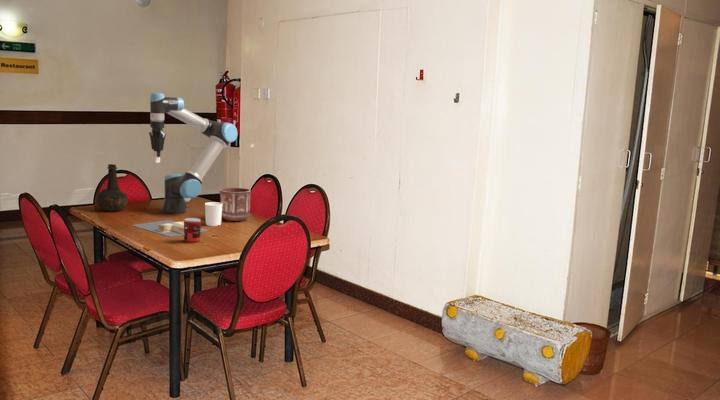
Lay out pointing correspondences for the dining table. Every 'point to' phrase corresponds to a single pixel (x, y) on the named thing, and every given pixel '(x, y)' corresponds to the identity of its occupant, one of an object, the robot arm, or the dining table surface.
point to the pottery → (235, 203)
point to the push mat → (154, 228)
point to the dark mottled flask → (112, 193)
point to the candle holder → (213, 213)
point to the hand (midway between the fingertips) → (157, 162)
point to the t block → (172, 227)
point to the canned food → (192, 230)
